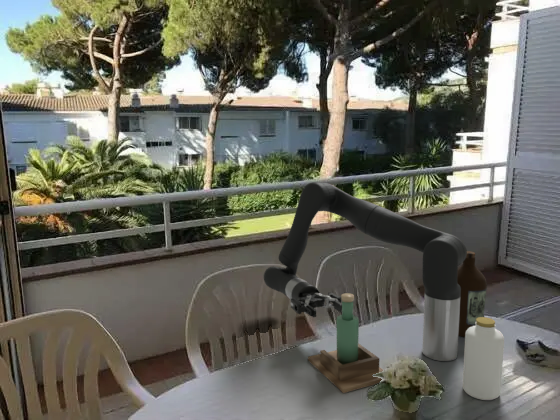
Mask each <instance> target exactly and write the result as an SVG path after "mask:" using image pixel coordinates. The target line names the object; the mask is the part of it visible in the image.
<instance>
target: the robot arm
mask: <svg viewBox="0 0 560 420" xmlns="http://www.w3.org/2000/svg"><path fill="white" fill-rule="evenodd" d="M318 212H328V213H331V214H335V215H337V216H340V217H342V218H343V219H346V220H347V221H348V222H350V223H351V225H352V226H354V227H355V228H356V229H357V230H359V231H360V232H362V233H363V234H365V235H367V236H368V237H371V238H373V239H376V240H377V241H381V242H384V243H387V244H391V245H398V246H403V247H407V248H410V249H411V248H412V249H414V250H417V251H418V252H421V253H422V270H421V271H422V284H423V287H424V302H423V305H424V306H423V325H422V326H423V327H422V349H421V351H422V354H423V355H424V356H425V357H426V358H429V359H430V360H435V361H439V362H451V361H454V360H456V359H457V358H458V348H459V336H458V333H459V315H460V295H461V287H460V285H459V284H458V283H457V270H458V268H459V267H460V266H461V264H463V261H464V260H465V258H466V256H467V251H468V250H467V247H466V245H465V243H464V242H463V241H462V240H461V239H460V238H459V237H457V236H455V235H454V234H451V233H448V232H444V231H440V230H438V229H435V228H431V227H427V226H426V225H422V224H420V223H418V222H416V221H414V220H413V219H410V218H407V217H405V216H403V215H400V214H398V213H396V212H394V211H391V210H390V209H387V208H386V207H382V205H381V206H380V205H378V204H375V203H373V202H370V201H367V200H364V199H361V198H358V197H355V196H352V195H351V194H349V193H347V192H345V191H343V190H342V189H340V188H338V187H336V186H334V185H333V184H331V183H329V182H326V181H325V182H322V181H316V182H315V181H313V182H309V183H308V184H306V185H305V186H304V187H303V189H302V191H301V194H300V196H299V199H298V203H297V207H296V210H295V214H294V217H293V220H292V224H291V227H290V229H289V232H288V234H287V237H286V239H285V241H284V243H283V245H282V248H281V250H280V252H279V254H278V261H279V262H280V263H281V264H282V265H284V266H285V268H284V267H280V266H274V265H273V266H269V267H267V268H266V270H265V271H264V273H263V281H264V284H265V285H266V286H267V287H268V288H270V289H271V290H274V291H277V292H280V293H282V294H283V295H284V296H286V297H287V298H288V299H289V300H290V308H291V309H292V310H293V311H294V312H295V313H296V314H299V315H301V314H302V313H304V314H307V315H308V316H310V317H312V318H316V317H317V309H316V308H324V309H329V308H333V309H334V310H336V311H337V312H339V313H342V300H341V295H338V294H336V293H334V292H332V291H328V294H323V293H320V291H319V289H318V288H317V287H316V286H315V285H313V284H311V283H309V282H308V281H307V280H305V279H304V278H303V279H302V278H300V277H298V276H297V272H298V268H299V263H300V261H301V259H302V257H303V255H304V254H305V250H306V248H307V244H308V238H309V230H310V227H311V224H312V221H313V220H314V218H315V217H316V215H317V214H318ZM325 303H326V304H325Z"/></svg>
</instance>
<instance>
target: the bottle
mask: <svg viewBox="0 0 560 420" xmlns="http://www.w3.org/2000/svg"><path fill="white" fill-rule="evenodd" d="M340 297H341V303H342V312H341V314H340V315H337V317H336V350H337V361H338V362H340V363H341V364H342V365H344V364H348V363H352V362H356V361H358V343H359V342H360V341H359V339H360V338H359V327H360V326H359V323H360V322H359V320H360V319H359V317H358V316H357V315H354V302H355V295H354V294H353V293H350V292H349V293H348V292H347V293H345V292H344V293H342V294H340Z"/></svg>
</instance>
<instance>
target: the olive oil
mask: <svg viewBox="0 0 560 420" xmlns="http://www.w3.org/2000/svg"><path fill="white" fill-rule="evenodd" d="M461 264H462V265H461ZM461 264H460V265H459V266H458V270H457V283H458V284H459V285H460V287H461V295H460V315H459V333H458V337H460V338H462V337H463V338H465V333H466V330H467V329H468V328H469V327H472V326H476V325H475V322H476V319H477V318H478V317H485V315H484V313H485V305H486V296H487V290H488V289H487V288H488V285H487V279H486V276H485V275H484V273H482V271H481V270H480V269H479V268H478V267H477V266H476V253H475V252H474V251H470V250H469V251H468V250H467V256H466V258H465V260H464V261H463V262H462V263H461Z"/></svg>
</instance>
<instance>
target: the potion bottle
mask: <svg viewBox="0 0 560 420" xmlns="http://www.w3.org/2000/svg"><path fill="white" fill-rule="evenodd" d="M475 325H476V326H472V327H469V328H468V329H467V330H466V333H465V337H464V350H463V351H464V353H463V354H464V355H463V369H462V371H463V372H462V389H463V390H464V392H465V393H466V394H467V395H469V396H470V397H472V398H474V399H477V400H480V401H481V400H483V401H492V400H495V399H497V398H499V396H500V395H501V391H502V377H503V376H502V375H503V362H504V348H505V337H504V335H503V333H502V332H501V331H500V330H499V329H497V328H496V321H495V320H494V319H493V318H489V317H486V316H484V317H478V318H477V319H476V322H475Z"/></svg>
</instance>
